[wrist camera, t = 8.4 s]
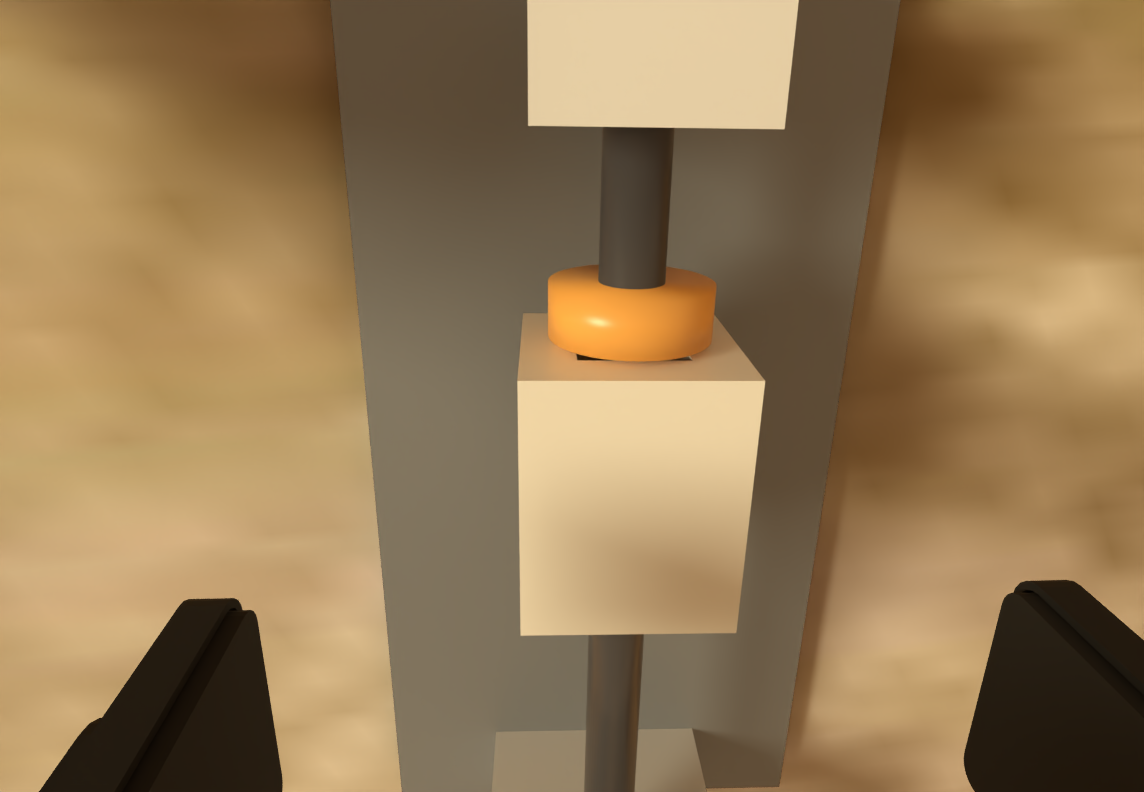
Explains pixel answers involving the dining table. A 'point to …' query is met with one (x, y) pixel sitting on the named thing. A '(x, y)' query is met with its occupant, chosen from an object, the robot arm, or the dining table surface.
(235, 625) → the robot arm
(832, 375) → the board
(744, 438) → the sleeve
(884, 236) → the dining table surface
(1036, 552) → the dining table surface
